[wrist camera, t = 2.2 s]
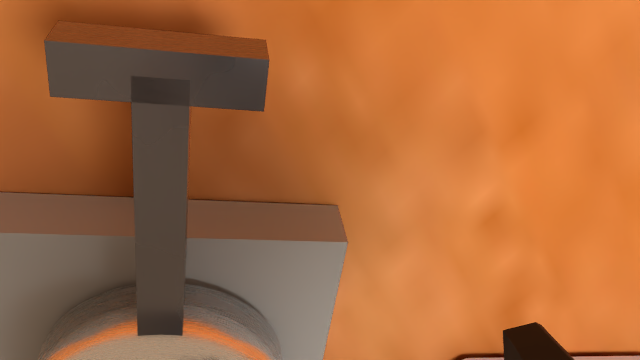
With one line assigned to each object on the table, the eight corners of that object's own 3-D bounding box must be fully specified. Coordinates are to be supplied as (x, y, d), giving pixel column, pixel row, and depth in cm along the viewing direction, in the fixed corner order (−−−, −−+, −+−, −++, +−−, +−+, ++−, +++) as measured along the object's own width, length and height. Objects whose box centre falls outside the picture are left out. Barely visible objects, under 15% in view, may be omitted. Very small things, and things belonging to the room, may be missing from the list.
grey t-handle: (270, 437, 23) (280, 562, 19) (51, 445, 21) (15, 583, 18) (336, 34, 14) (377, 117, 11) (-20, -1, 13) (-118, 83, 9)
